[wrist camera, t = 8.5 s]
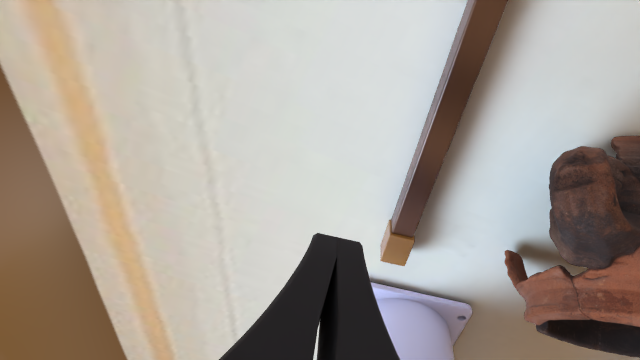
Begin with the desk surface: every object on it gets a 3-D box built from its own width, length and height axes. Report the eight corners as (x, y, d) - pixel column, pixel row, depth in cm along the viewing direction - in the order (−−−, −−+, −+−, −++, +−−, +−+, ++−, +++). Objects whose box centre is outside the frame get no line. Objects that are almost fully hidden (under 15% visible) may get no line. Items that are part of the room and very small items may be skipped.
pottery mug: (755, 200, 18) (807, 386, 15) (546, 222, 26) (547, 352, 22) (688, 40, 13) (747, 280, 9) (443, 127, 20) (421, 281, 16)
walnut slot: (675, 309, 22) (691, 330, 21) (380, 244, 23) (380, 261, 21) (1127, -116, 11) (1213, -123, 10) (542, -225, 12) (560, -243, 11)
